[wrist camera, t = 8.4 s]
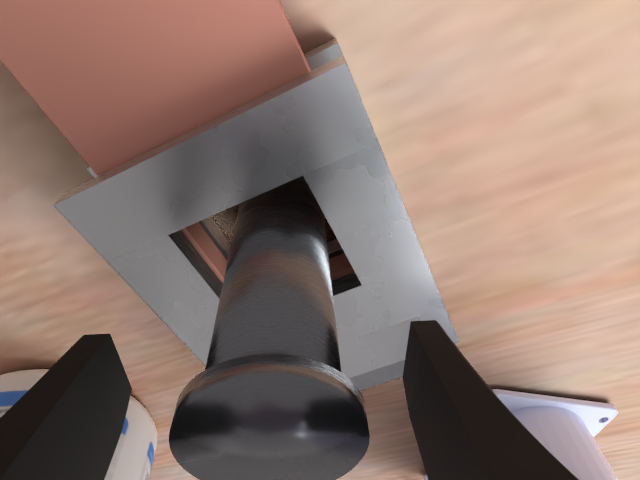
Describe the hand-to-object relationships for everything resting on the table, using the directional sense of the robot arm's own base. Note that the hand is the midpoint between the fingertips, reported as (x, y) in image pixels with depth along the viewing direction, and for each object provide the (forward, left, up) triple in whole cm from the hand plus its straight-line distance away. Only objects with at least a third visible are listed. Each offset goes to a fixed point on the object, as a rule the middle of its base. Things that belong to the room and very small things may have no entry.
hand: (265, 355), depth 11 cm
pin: (+1, 0, -7) cm, 7 cm away
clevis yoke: (-2, -1, -7) cm, 7 cm away
